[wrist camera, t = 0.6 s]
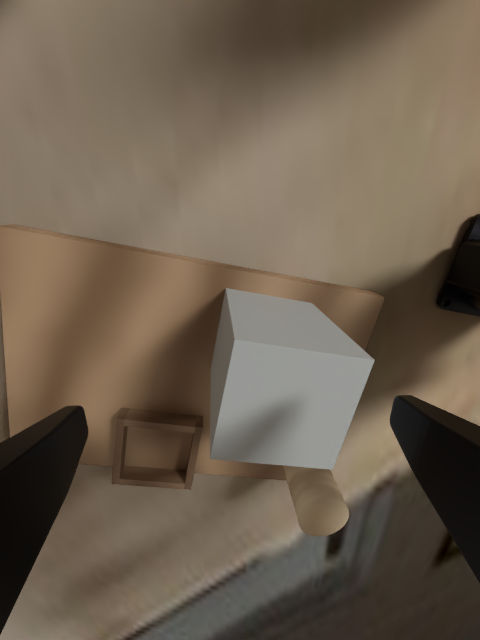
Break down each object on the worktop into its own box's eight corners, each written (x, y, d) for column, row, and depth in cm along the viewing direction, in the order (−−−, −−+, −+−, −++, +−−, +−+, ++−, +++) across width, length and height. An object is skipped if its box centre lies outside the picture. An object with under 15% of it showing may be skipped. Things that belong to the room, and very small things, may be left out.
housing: (312, 303, 19) (374, 360, 12) (290, 378, 21) (332, 469, 13) (225, 288, 18) (234, 339, 11) (210, 368, 20) (209, 459, 13)
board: (373, 291, 21) (396, 302, 18) (309, 470, 26) (320, 498, 23) (13, 224, 17) (-21, 226, 15) (24, 446, 22) (0, 476, 20)
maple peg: (326, 442, 23) (355, 501, 18) (315, 474, 24) (340, 537, 19) (287, 438, 22) (306, 498, 18) (277, 470, 23) (293, 535, 19)
